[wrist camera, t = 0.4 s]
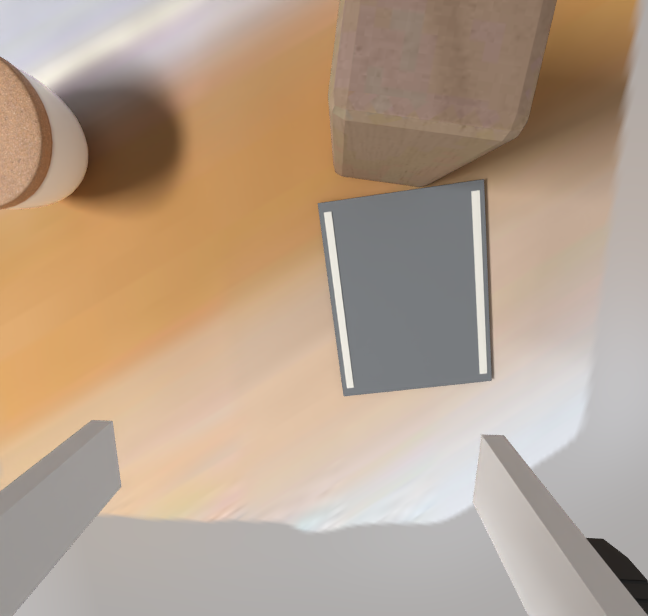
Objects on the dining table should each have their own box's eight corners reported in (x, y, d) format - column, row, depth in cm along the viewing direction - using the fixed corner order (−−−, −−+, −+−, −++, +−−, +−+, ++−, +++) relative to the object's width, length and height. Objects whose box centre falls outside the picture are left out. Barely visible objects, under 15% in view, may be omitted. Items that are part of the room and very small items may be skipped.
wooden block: (447, 82, 34) (596, -121, 14) (427, 189, 36) (532, 138, 16) (346, 69, 34) (356, -152, 14) (332, 176, 36) (324, 110, 17)
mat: (318, 203, 37) (317, 203, 36) (481, 180, 36) (484, 179, 35) (343, 394, 41) (343, 396, 41) (489, 378, 40) (492, 380, 40)
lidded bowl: (21, 224, 39) (-102, 220, 28) (-22, 101, 36) (-175, 45, 25) (128, 202, 38) (43, 190, 27) (91, 75, 35) (-18, 5, 24)
